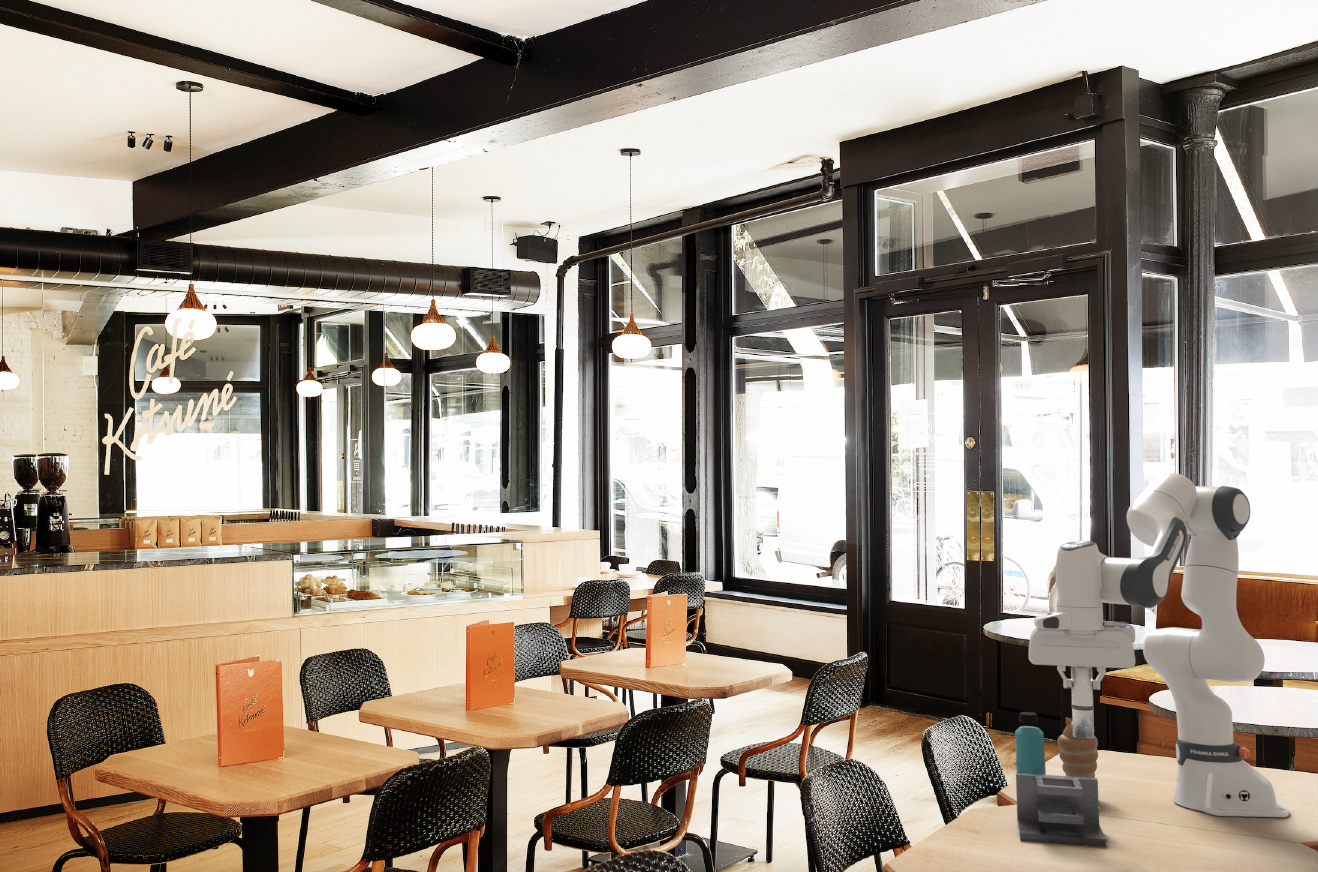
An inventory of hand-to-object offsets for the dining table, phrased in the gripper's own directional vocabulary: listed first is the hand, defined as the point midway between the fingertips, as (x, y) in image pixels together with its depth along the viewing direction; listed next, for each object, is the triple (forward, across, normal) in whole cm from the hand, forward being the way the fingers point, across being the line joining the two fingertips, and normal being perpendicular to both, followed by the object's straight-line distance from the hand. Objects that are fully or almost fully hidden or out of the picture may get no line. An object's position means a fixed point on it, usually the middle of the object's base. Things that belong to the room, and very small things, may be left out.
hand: (1081, 688), depth 208 cm
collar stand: (+30, +5, -1) cm, 30 cm away
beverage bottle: (+30, +8, -26) cm, 40 cm away
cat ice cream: (+30, -3, -32) cm, 44 cm away
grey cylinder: (+10, 0, 0) cm, 10 cm away
